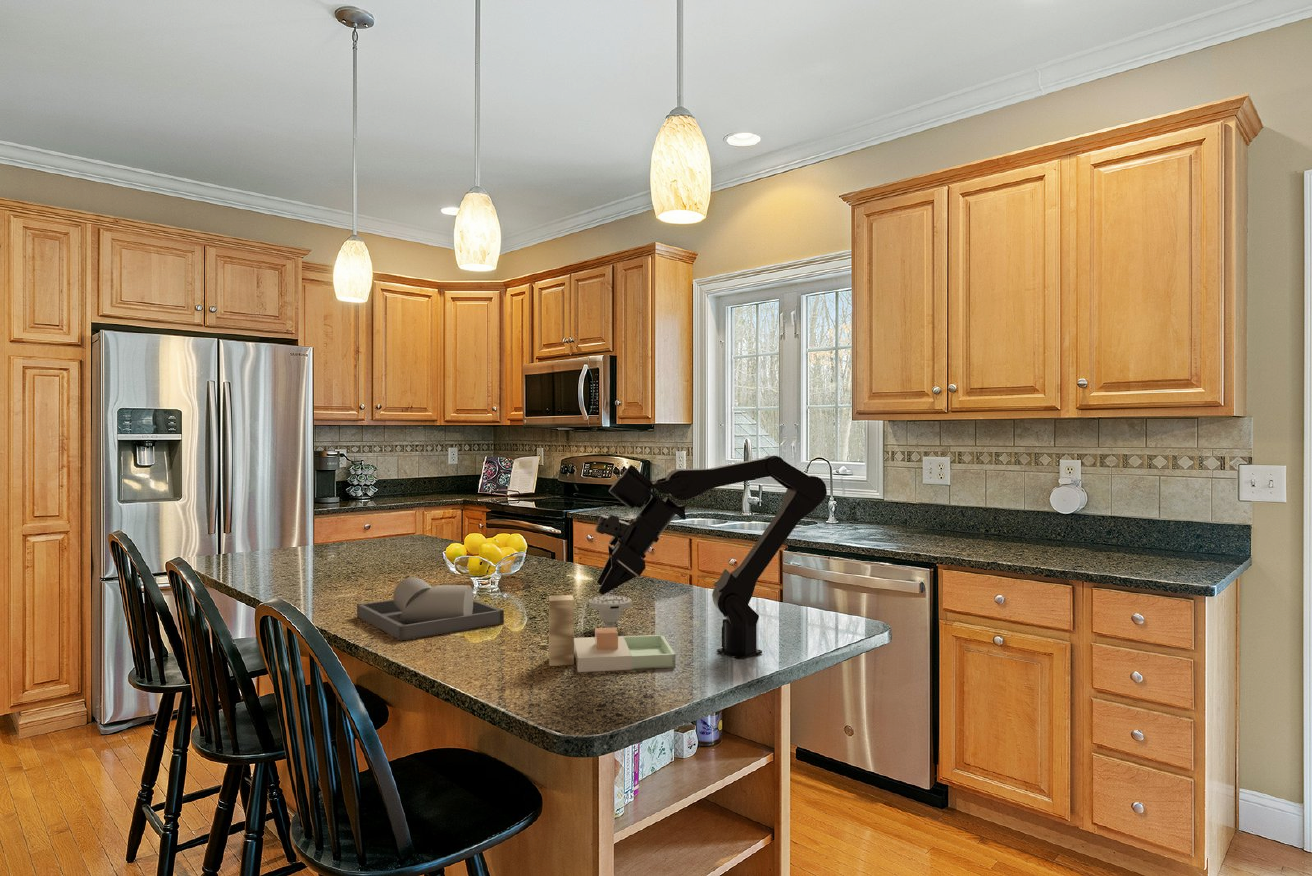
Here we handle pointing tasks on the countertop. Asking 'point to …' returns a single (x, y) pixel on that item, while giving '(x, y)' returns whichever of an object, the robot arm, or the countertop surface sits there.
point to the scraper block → (561, 630)
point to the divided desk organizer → (388, 620)
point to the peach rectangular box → (606, 638)
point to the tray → (650, 652)
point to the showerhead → (610, 608)
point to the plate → (601, 656)
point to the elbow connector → (431, 601)
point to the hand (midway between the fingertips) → (599, 588)
